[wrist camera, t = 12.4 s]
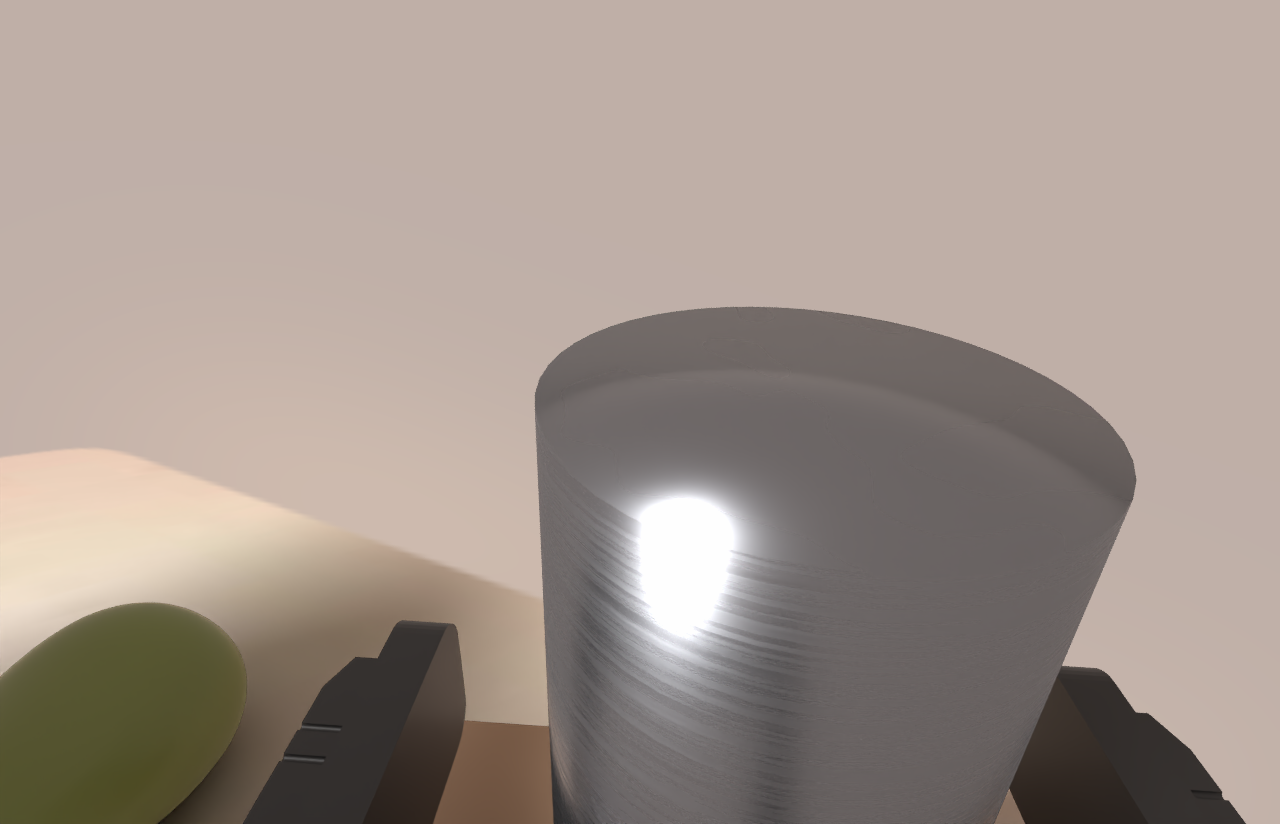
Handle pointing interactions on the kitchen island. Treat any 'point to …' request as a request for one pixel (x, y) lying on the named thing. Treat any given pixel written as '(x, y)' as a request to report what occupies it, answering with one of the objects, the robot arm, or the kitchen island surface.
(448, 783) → the socket block
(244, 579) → the kitchen island surface
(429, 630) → the robot arm
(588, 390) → the pin
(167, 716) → the green rounded lump
